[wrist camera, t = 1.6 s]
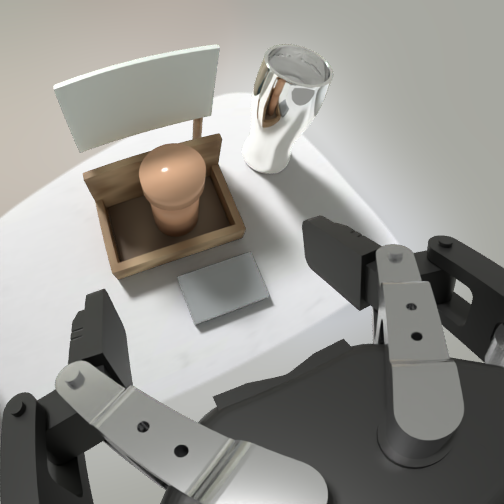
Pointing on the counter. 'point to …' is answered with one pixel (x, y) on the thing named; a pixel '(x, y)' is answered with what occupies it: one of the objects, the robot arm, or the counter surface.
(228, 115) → the counter surface
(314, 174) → the counter surface
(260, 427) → the robot arm
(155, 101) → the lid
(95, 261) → the counter surface
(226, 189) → the open wooden box
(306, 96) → the beer glass
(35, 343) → the counter surface
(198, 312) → the tile
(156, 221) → the peach mushroom shaped stopper
